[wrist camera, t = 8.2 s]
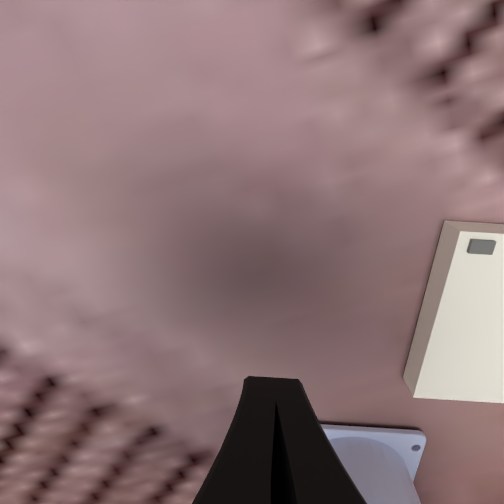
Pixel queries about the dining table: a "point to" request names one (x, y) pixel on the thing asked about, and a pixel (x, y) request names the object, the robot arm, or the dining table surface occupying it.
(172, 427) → the dining table surface
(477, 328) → the cream flat rectangular block
